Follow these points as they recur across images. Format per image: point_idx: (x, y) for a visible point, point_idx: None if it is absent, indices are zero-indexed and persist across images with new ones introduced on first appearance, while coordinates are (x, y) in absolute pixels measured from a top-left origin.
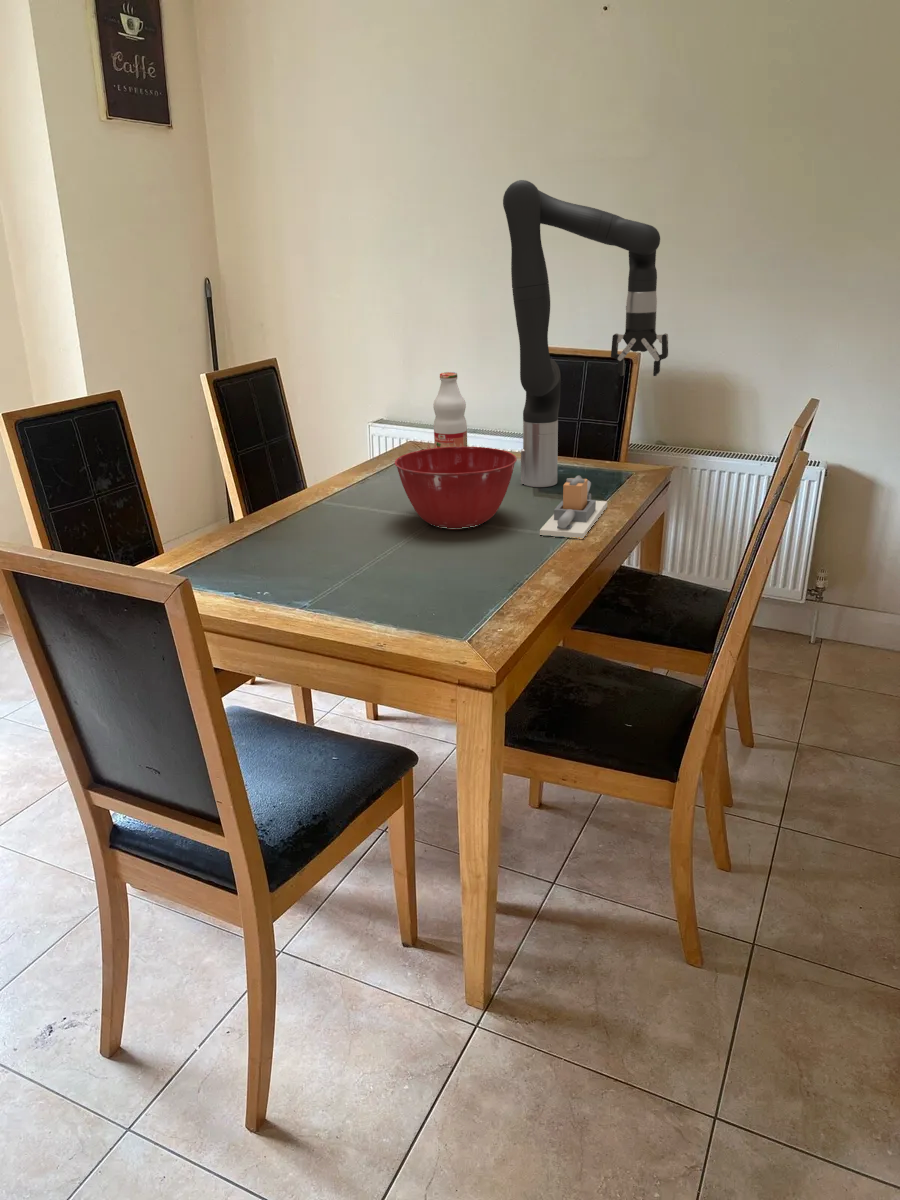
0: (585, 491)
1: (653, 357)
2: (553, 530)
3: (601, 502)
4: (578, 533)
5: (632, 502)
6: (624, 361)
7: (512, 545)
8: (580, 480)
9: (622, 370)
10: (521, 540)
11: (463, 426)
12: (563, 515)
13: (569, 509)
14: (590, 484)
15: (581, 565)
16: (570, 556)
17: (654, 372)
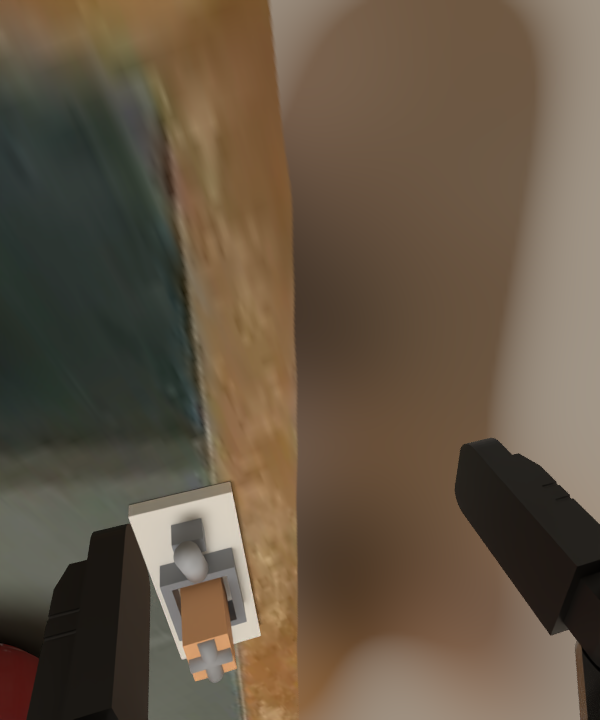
0: (227, 620)
1: (582, 697)
2: None
3: (222, 504)
4: (252, 637)
5: (274, 425)
6: (118, 695)
7: (161, 686)
8: (225, 662)
9: (144, 634)
10: (162, 670)
11: None
12: None
13: None
14: (200, 554)
15: (292, 678)
16: (266, 668)
17: (483, 525)
